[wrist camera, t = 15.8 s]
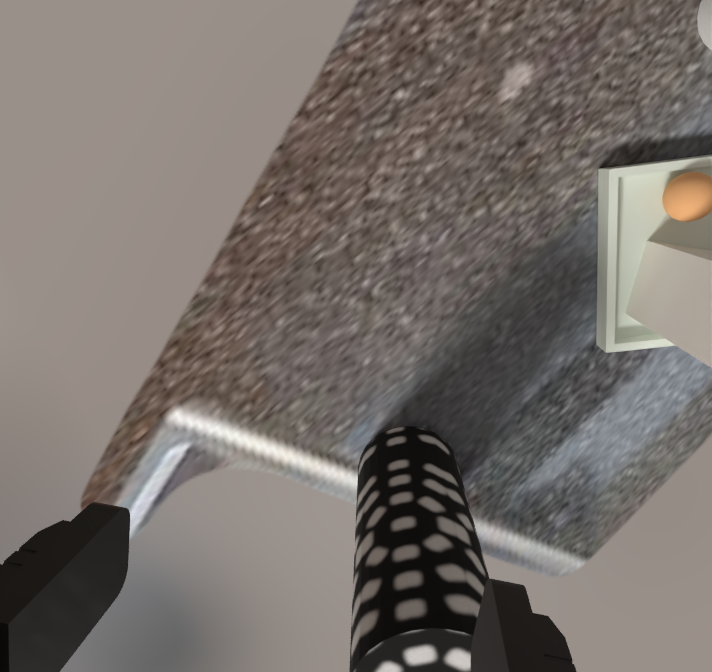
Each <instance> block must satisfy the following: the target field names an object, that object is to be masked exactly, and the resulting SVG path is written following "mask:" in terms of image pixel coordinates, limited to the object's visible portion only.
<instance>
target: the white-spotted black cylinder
mask: <svg viewBox="0 0 712 672" xmlns="http://www.w3.org/2000/svg"><path fill="white" fill-rule="evenodd" d="M356 511H357V512H356V533H355V557H354V580H353V604H352V627H351V649H350V650H351V651H350V672H471V646H472V639H473V634H474V630H475V626H476V621H477V617H478V613H479V609H480V604H481V600H482V596H483V592H484V588H485V584H486V581H487V580H488V579H489V576H488V572H487V569H486V565H485V561H484V558H483V554H482V550H481V547H480V543H479V540H478V536H477V532H476V529H475V525H474V521H473V518H472V514H471V511H470V507H469V503H468V500H467V496H466V493H465V489H464V485H463V482H462V478H461V475H460V471H459V467H458V464H457V460H456V457H455V455H454V452H453V450H452V449H451V447H450V446H449V444H448V443H447V442H446V441H445V440H444V439H443V438H441V437H440V436H438V435H437V434H435V433H434V432H431V431H429V430H426V429H423V428H418V427H399V428H394V429H391V430H388V431H385V432H384V433H382V434H380V435H378V436H377V437H375V438H374V439H373V440H372V441H371V442H370V443H369V444H368V445H367V447H366V448H365V449H364V451H363V453H362V455H361V457H360V461H359V465H358V487H357V510H356Z"/></svg>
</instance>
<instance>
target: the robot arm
mask: <svg viewBox="0 0 712 672" xmlns="http://www.w3.org/2000/svg"><path fill="white" fill-rule="evenodd" d="M129 531H130V513H129V510H128V509H127V508H123V507H118V506H113V505H108V504H103V503H97V502H93V503H91V504H89V505H88V506H87V507H86V508H85V509H84V510H83V511H82V512H80V513H79V514H78V515H77V516H76V517H75V518H74V519H73V520H72V521H71V522H69V521H64V520H62V521H60V522H58V523H56V524H54V525H52V526H50V527H47V528H45V529H43V530H41V531H39V532H38V533H37V534H35V535H34V536H33V537H32V538H30V539H29V540H28V541H27V542H26V543H25V544H23V545H22V546H21V547H20V549H19V551H15V552H14V553H13V554H12V555H11V556H9V557H8V558H7V559H6V560H5V561H4V563H3V565H1V564H0V672H60V670H61V669H62V668H63V667H64V665H65V664H66V663H67V661H68V660H69V659H70V658H71V656H72V655H73V654H74V652H75V651H76V650H77V648H78V647H79V646H80V645H81V643H82V642H83V641H84V639H85V638H86V637H87V635H88V634H89V633H90V632H91V630H92V629H93V628H94V626H95V625H96V624H97V623H98V621H99V620H100V619H101V617H102V616H103V615H104V613H105V612H106V611H107V609H108V608H109V607H110V606H111V604H112V603H113V602H114V600H115V599H116V598H117V596H118V594H119V593H120V591H121V589H122V587H123V584H124V581H125V578H126V574H127V569H128V553H129ZM471 672H576V669H575V666H574V664H572V657H571V654H570V651H569V648H568V646H567V642H566V639H565V637H564V636H563V634H562V633H561V632H560V631H559V630H558V628H557V627H556V626H555V624H554V623H553V622H552V620H551V619H550V618H549V617H548V616H544V615H539V614H535V613H532V609H531V606H530V603H529V599H528V595H527V591H526V588H525V587H524V585H520V584H514V583H510V582H504V581H499V580H495V579H488V580H487V581H486V584H485V588H484V592H483V596H482V600H481V604H480V609H479V613H478V617H477V621H476V626H475V630H474V634H473V639H472V646H471Z"/></svg>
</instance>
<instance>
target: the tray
mask: <svg viewBox="0 0 712 672" xmlns="http://www.w3.org/2000/svg"><path fill="white" fill-rule="evenodd" d="M688 172H700V173H704V174H706V175H708V176H710V177H711V178H712V154H710V155H702V156H695V157H687V158H679V159H671V160H663V161H655V162H647V163H639V164H632V165H624V166H616V167H608V168H600V169H599V178H598V258H597V337H596V345H597V346H599V347H600V348H601V349H602V350H603V351H604V352H606V353H609V352H618V351H628V350H637V349H646V348H656V347H665V346H675V344H673V343H671V342H670V341H668V340H667V339H665V338H663V337H662V336H660V335H659V334H657V333H655V332H654V331H652V330H651V329H649V328H647V327H646V326H644V325H643V324H641V323H640V322H638V321H636V320H635V319H633V318H632V317H630V316H628V315H627V314H625V310H626V307H627V304H628V300H629V297H630V294H631V291H632V288H633V284H634V281H635V278H636V275H637V271H638V268H639V265H640V262H641V258H642V255H643V252H644V249H645V245H646V242H647V241H653V242H660V243H667V244H674V245H681V246H688V247H695V248H702V249H708V250H712V211H711V212H710V213H709V214H708V215H706V216H705V217H703V218H701V219H699V220H695V221H690V222H683V221H678V220H676V219H674V218H672V217H671V216H669V215H668V214H667V213H666V211H665V209H664V207H663V203H662V196H663V192H664V190H665V188H666V186H667V185H668V184H669V183H670V182H671V181H672V180H673V179H674V178H675V177H677V176H679V175H681V174H684V173H688Z"/></svg>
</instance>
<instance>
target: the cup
mask: <svg viewBox="0 0 712 672" xmlns="http://www.w3.org/2000/svg"><path fill="white" fill-rule="evenodd" d="M625 314H627V315H628V316H630V317H632V318H633V319H635V320H636V321H638V322H640V323H641V324H643V325H644V326H646V327H647V328H649V329H651V330H652V331H654V332H655V333H657V334H659V335H660V336H662V337H663V338H665V339H667V340H668V341H670V342H671V343H673V344H675V345H676V346H678V347H679V348H681V349H682V350H684V351H686V352H687V353H689V354H690V355H692V356H694V357H695V358H697V359H698V360H700V361H702V362H703V363H705V364H706V365H708V366H710V367H711V368H712V250H708V249H702V248H695V247H688V246H681V245H674V244H667V243H660V242H653V241H647V242H646V245H645V249H644V252H643V255H642V258H641V262H640V265H639V268H638V271H637V275H636V278H635V281H634V284H633V288H632V291H631V294H630V297H629V300H628V304H627V307H626V310H625Z"/></svg>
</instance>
